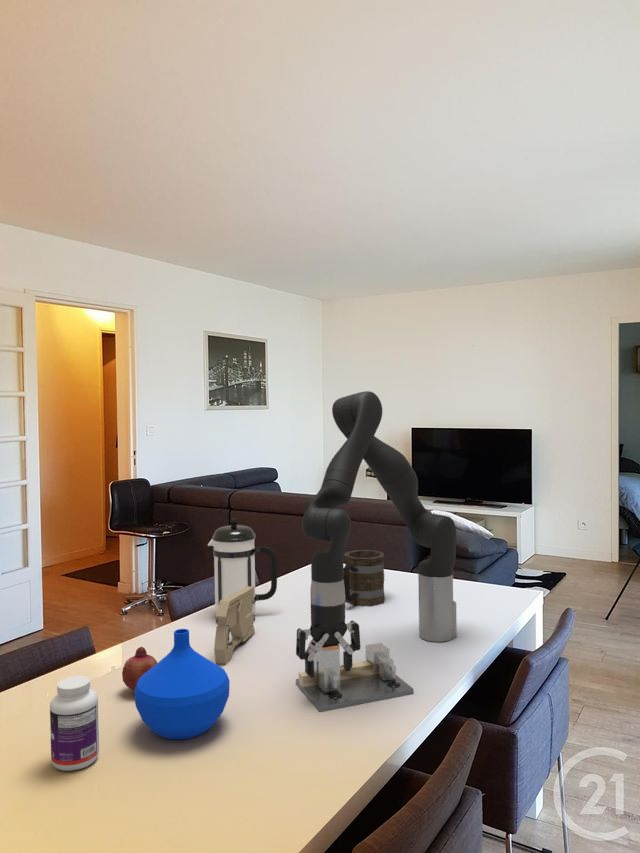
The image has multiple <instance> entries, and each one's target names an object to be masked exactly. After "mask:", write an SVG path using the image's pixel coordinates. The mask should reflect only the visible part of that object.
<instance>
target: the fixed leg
mask: <svg viewBox="0 0 640 853" xmlns="http://www.w3.org/2000/svg"><path fill="white" fill-rule="evenodd" d="M365 661H370V662H371V663H372V664H373V671H379V677H381V678H382V679H383V680H390V679H392V684H396V675H397V674H396V672H397V666H396V665H394V659H392V658H391V657H390V648H389V647H387V646H386V645H384V644H383V643H382V642H378V643H371V644H366V645H365Z"/></svg>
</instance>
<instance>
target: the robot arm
mask: <svg viewBox="0 0 640 853" xmlns="http://www.w3.org/2000/svg"><path fill="white" fill-rule="evenodd" d="M331 414H332V417H333V421H334V422H335V424H336V427H337V428H338V430H339V431H340V432H341V433H342V434H343V436H344V437H345V438H346V440H345V442H344V443H343V444H342V445H341V447H340V448H339V450H338V451H337V452H336V453H335V454H334V455H333V457H332V459H330V462H329V463H328V466H327V468H326V471H325V473H324V476H323V480H322V483H321V486H320V489H319V490H318V492H317V493H316V495H315V496H314V498H313V499H312V501H311V502H310V504H309V506H308V507H307V509H306V510H305V511H304V513H303V514H304V515H303V516H302V521H301V522H302V523H301V528H302V532H303V534H304V536H305V537H306V538H307V539H308V540H314V541H323V542H330V546H329V549H322V550H317V551H315V552H314V553H312V555H311V560H310V561H311V562H310V572H311V574H310V575H311V576H310V577H311V578H310V580H311V582H310V627H309V628H307V629H302V628H298V629H297V630H296V641H295V642H296V643H295V655H296V657H298V658H299V659H300V660H301V661H302V660H304V672H306V674H307V675H308V676H309V677H310V678H313V677H314V661H313V658H314V656H315V655H316V653H318V652H319V651H320V649H321V647H323V646H329V645H335V644H339V645H340V646H341V648H342V649H343V654H342V656H343V658H342V660H343V662H342V663H343V664H342V665H344V669H345V670H346V671H350V668H352V663H353V653H355V652H356V651H360V650H361V634H360V633H361V632H360V625H359V624H358V622H356V621H354V620H350V621H349V622H348V623H346V602H345V597H346V596H345V586H344V579H343V578H344V572H343V569H344V562H345V558H344V555H345V553H346V549H347V544H348V542H349V536H350V533H351V528H352V520H351V516H350V515H349V513H348V511H346V510H344V509H343V508H337V507H343V506H345V505H347V504H348V503H349V502H350V500H351V498H352V494H353V491H354V487H355V483H356V480H357V476H358V472H359V470H360V467H361V464H362V462H363V461H364V462H365V463H366V465H367V466H368V468H369V469H370V470H371V473H373V475H374V476H375V478H376V480H377V481H378V483H379V484H380V486H381V488H382V489H383V490H384V492H385V493H386V495H387V497H389V499H390V501H391V502H392V503H393V505H394V506H395V508H396V509H397V511H398V512H399V515H400V516H401V518H402V520H403V521H404V523H405V525H406V528H407V530H408V532H409V533H410V535H411V537H412V538H413V541H414V542H415V543H417V544H418V545H420V546H422V547H424V548H430V557H429V558H428V559H423V560H421V561H420V562H419V563H418V572H417V573H418V575H417V576H418V635H419V637H420V638H421V639H423V640H425V641H428V642H434V643H435V642H436V643H437V642H438V643H441V642H448V641H451V640H453V639H454V638H457V635H458V634H457V633H458V632H457V628H458V627H457V621H458V620H457V602H456V601H455V600H454V567H455V563H456V556H457V554H456V552H457V526H456V524H455V521H454V520H453V518H452V517H451V516H448V515H443V514H436V513H431V512H429V511H428V510H427V508H425V506H424V505H423V504H422V501H420V498H419V496H418V492H419V491H418V490H419V479H418V475H417V474H416V471H415V470H414V468H413V467H412V465H411V464H410V462H409V461H408V459H407V458H406V457H405V455H404V454H402V453H401V452H400V451H398V450H397V449H396V448H395V447H393V446H391V445H389V444H387V443H386V442H384V441H382V440H381V439H379V438H378V437H376V436H375V435H376V432H377V430H378V428H379V426H380V424H381V421H382V419H383V405H382V402H381V399H380V398H379V396H378V395H377V394H376V393H375V392H373V391H371V390H368V391H367V390H366V391H361V392H357V393H353V394H349V395H346V396H342V397H340V398H338V399H336V400H335V401H334V402H333V403H332V407H331ZM347 631H348V633H349V634H350V644H349V643H348V642H347V641H346V639H345V637H344V636H345V634H346V633H347ZM309 636H310V637H311V640H310V642H309V643H308V647H307V648H306V644H307V640H308V639H309Z"/></svg>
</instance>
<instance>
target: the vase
mask: <svg viewBox="0 0 640 853" xmlns="http://www.w3.org/2000/svg"><path fill="white" fill-rule="evenodd" d="M133 691H134V690H133ZM229 696H230V679H229V676H228V673H227V672H226V670H225V669H224V668H223V667H221V666H220V665H219V664H216V662H214V661H212V660H209V659H208V658H206V657H205V656H203V655H202V654H200V653H199V652H197V651H196V650H195V649H194V648H192V646H191V644H190V630H189V629H188V628H179V629H176V630H174V631H173V646H172V649H171V650H170V651H169V653H167V654H166V655H165V656H164V657H162V659H161V660H159V661H157V664H156V665H155V666H153V667H152V668H151V669H150V670H148V671H147V672H146V673H144V674H143V675H142V676H141V677H140V678H139V680H138V682H137V685H136V688H135V691H134V703H135V709H136V710H137V712H138V714H139V717H140V718H141V720H142V722H143V723H144V724H145V725H146V726H147V727H148V728H149V729H150V731H152V732H153V733H155V734H157V735H159V736H160V737H162V738H165V739H169V740H176V741H177V740H187V739H192V738H195V737H198V736H201V735H202V734H204V733H205V732H206V731H208V730H209V729H210V728H211V727H212V726H214V725H215V724H216V722H217V720H218V719H220V717H221V715H222V714H223V712H224V710H225V707H226V704H227V702H228V700H229Z"/></svg>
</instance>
